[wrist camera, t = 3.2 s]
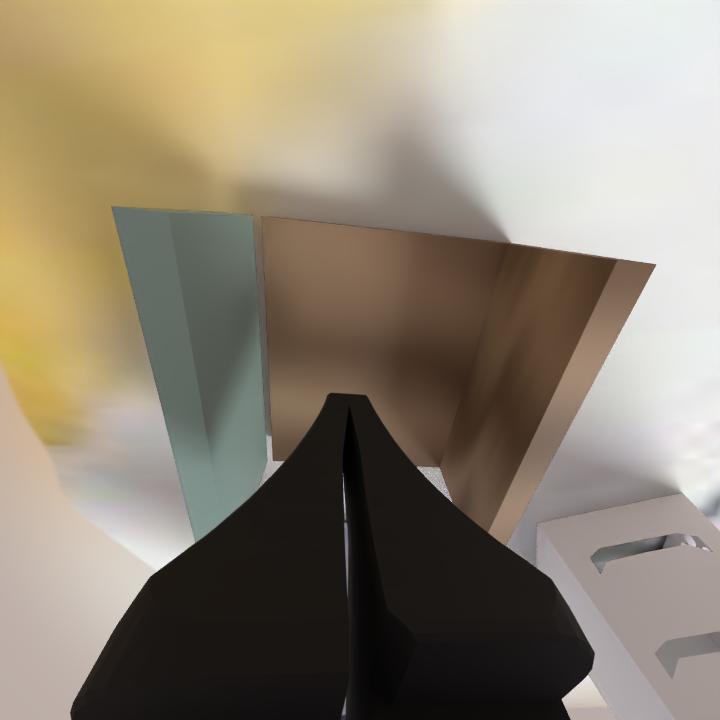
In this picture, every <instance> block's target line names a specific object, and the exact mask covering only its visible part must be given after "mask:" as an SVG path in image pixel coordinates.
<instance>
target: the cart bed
mask: <svg viewBox="0 0 720 720" xmlns="http://www.w3.org/2000/svg"><path fill="white" fill-rule="evenodd" d="M262 236H263V258H264V279H265V301H266V322H267V344H268V365H269V387H270V408H271V430H272V451H273V461H286V459H287V458H288V457H289V456H290V455H291V453H292V452H293V451H294V450H295V448H296V447H297V446H298V444H299V443H300V442H301V440H302V439H303V438H304V436H305V435H306V433H307V432H308V431H309V429H310V428H311V426H312V424H313V423H314V421H315V420H316V418H317V416H318V415H319V413H320V411H321V409H322V407H323V405H324V403H325V400H326V397H327V395H328V394H329V393H345V394H361V395H366V396H367V397H368V398H369V400H370V402H371V404H372V406H373V407H374V409H375V411H376V413H377V414H378V416H379V418H380V419H381V421H382V422H383V424H384V425H385V427H386V428H387V430H388V431H389V433H390V434H391V436H392V437H393V439H394V440H395V441H396V443H397V444H398V445H399V447H400V448H401V449H402V450H403V452H404V453H405V454H406V455H407V457H408V458H409V459H410V460H411V462H412V463H413V464H414V465H415V466H420V467H440V470H441V472H442V475H443V478H444V480H445V483H446V486H447V488H448V491H449V494H450V496H451V499H452V502H453V504H454V505H455V506H456V507H458V508H459V509H460V510H461V511H462V512H463V513H464V514H466V515H467V516H468V517H469V518H470V519H471V520H473V521H474V522H475V523H476V524H478V525H479V526H480V527H481V528H483V529H484V530H485V531H487V532H488V533H489V534H490V535H492V536H493V537H494V538H495V539H497V540H498V541H499V542H501V543H502V544H503V545H505V546H506V545H507V543H508V541H509V539H510V537H511V535H512V533H513V531H514V530H515V528H516V526H517V524H518V522H519V520H520V518H521V516H522V515H523V513H524V511H525V509H526V507H527V505H528V503H529V502H530V500H531V498H532V496H533V494H534V492H535V490H536V488H537V487H538V485H539V483H540V481H541V479H542V477H543V475H544V474H545V472H546V470H547V468H548V466H549V464H550V462H551V460H552V459H553V457H554V455H555V453H556V451H557V449H558V447H559V446H560V444H561V442H562V440H563V438H564V436H565V434H566V432H567V431H568V429H569V427H570V425H571V423H572V421H573V419H574V417H575V416H576V414H577V412H578V410H579V408H580V406H581V404H582V403H583V401H584V399H585V397H586V395H587V393H588V391H589V389H590V388H591V386H592V384H593V382H594V380H595V378H596V376H597V375H598V373H599V371H600V369H601V367H602V365H603V363H604V361H605V360H606V358H607V356H608V354H609V352H610V350H611V348H612V347H613V345H614V343H615V341H616V339H617V337H618V335H619V333H620V332H621V330H622V328H623V326H624V324H625V322H626V320H627V318H628V317H629V315H630V313H631V311H632V309H633V307H634V305H635V304H636V302H637V300H638V298H639V296H640V294H641V292H642V290H643V289H644V287H645V285H646V283H647V281H648V279H649V277H650V276H651V274H652V272H653V270H654V268H655V266H656V264H650V263H643V262H636V261H630V260H623V259H616V258H609V257H602V256H596V255H589V254H582V253H575V252H568V251H562V250H555V249H548V248H541V247H534V246H527V245H521V244H514V243H505V242H496V241H487V240H478V239H469V238H460V237H451V236H442V235H433V234H424V233H415V232H405V231H396V230H387V229H378V228H369V227H360V226H351V225H342V224H333V223H324V222H315V221H305V220H296V219H287V218H278V217H263V216H262Z"/></svg>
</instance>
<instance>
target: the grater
mask: <svg viewBox="0 0 720 720" xmlns="http://www.w3.org/2000/svg"><path fill="white" fill-rule="evenodd" d="M664 535H667V537H666V540H665V543H664V545H663V548H662V549H660V550H655V551H650V552H645V553H640V554H636V555H632V556H627V557H623V558H619V559H614V560H610V561H607V562H606V564H605V567H604V569H603V571H602V573H601V574H600V572H599V571H598V569H597V568H596V566H595V565H594V563H593V562H592V560H591V559H590V558H589V557H591V556H592V555H593V554H594V553H595V552H596V551H597V550H598V549H599V548H603V547H608V546H614V545H619V544H624V543H629V542H634V541H639V540H644V539H649V538H654V537H659V536H664ZM684 535H690V536H691V537H692V538H693V540H694V541H695V543H696V547H694V546H691V545H689V544H688V543H687V541H686V540H685V537H684ZM681 543H685V544H686V545H681ZM702 547H706V548H707V549H709V550H710V551H708V550H704V549H702ZM536 568H537V569H539V570H540V571H541V572H543V573H544V574H546V575H547V576H548V577H550V578H551V579H552V580H553V582H554V583H555V585H556V587H557V588H558V590H559V591H560V593H561V594H562V596H563V598H564V599H565V601H566V602H567V604H568V605H569V607H570V609H571V611H572V613H573V614H574V616H575V618H576V620H577V622H578V623H579V625H580V627H581V629H582V631H583V632H584V634H585V636H586V638H587V640H588V641H589V643H590V645H591V647H592V649H593V650H594V652H595V657H594V663H593V668H592V670H591V671H590V673H589V674H588V675H589V677H590V678H591V680H592V681H593V683H594V685H595V686H596V688H597V689H598V691H599V692H600V694H601V696H602V697H603V699H604V700H605V702H606V703H607V705H608V707H609V708H610V710H611V711H612V713H613V715H614V716H615V718H616V719H617V720H720V531H719V530H718V529H717V528H716V527H715V526H714V525H713V524H712V523H711V522H710V521H709V520H708V519H707V518H706V516H705V515H704V514H703V513H702V512H701V511H700V510H699V509H698V508H697V507H696V506H695V505H694V504H693V503H692V502H691V501H690V500H689V499H688V498H687V497H686V496H685V495H684V494H683V493H680V494H675V495H670V496H665V497H660V498H655V499H651V500H646V501H641V502H636V503H631V504H627V505H622V506H617V507H612V508H607V509H602V510H598V511H593V512H588V513H583V514H578V515H574V516H569V517H564V518H559V519H554V520H550V521H545V522H540V523H537V556H536Z"/></svg>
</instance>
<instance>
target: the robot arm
mask: <svg viewBox="0 0 720 720" xmlns="http://www.w3.org/2000/svg"><path fill="white" fill-rule="evenodd" d="M343 477H344V491H345V504H346V517H347V523H344V499H343ZM594 657H595V652H594V650H593V649H592V647H591V645H590V643H589V641H588V640H587V638H586V636H585V634H584V632H583V631H582V629H581V627H580V625H579V623H578V622H577V620H576V618H575V616H574V614H573V613H572V611H571V609H570V607H569V605H568V604H567V602H566V601H565V599H564V598H563V596H562V594H561V593H560V591H559V590H558V588H557V587H556V585H555V583H554V582H553V580H552V579H551V578H550V577H548V576H547V575H546V574H544V573H543V572H541V571H540V570H539V569H537V568H536V567H534V566H533V565H531V564H530V563H529V562H527V561H526V560H524V559H523V558H522V557H520V556H519V555H517V554H516V553H515V552H513V551H512V550H510V549H509V548H508V547H506V546H505V545H503V544H502V543H501V542H499V541H498V540H497V539H495V538H494V537H493V536H492V535H490V534H489V533H488V532H487V531H485V530H484V529H483V528H481V527H480V526H479V525H478V524H476V523H475V522H474V521H473V520H471V519H470V518H469V517H468V516H467V515H466V514H464V513H463V512H462V511H461V510H460V509H459V508H458V507H456V506H455V505H454V504H453V503H452V502H451V501H450V500H449V499H448V498H447V497H445V496H444V495H443V494H442V493H441V492H440V491H439V490H438V489H437V488H436V487H435V486H434V485H433V484H432V483H431V482H430V481H429V480H428V479H427V478H426V477H425V476H424V475H423V474H422V473H421V472H420V471H419V470H418V468H417V467H416V466H415V465H414V464H413V463H412V462H411V460H410V459H409V458H408V457H407V455H406V454H405V453H404V452H403V450H402V449H401V448H400V447H399V445H398V444H397V443H396V441H395V440H394V439H393V437H392V436H391V434H390V433H389V431H388V430H387V428H386V427H385V425H384V424H383V422H382V421H381V419H380V418H379V416H378V414H377V413H376V411H375V409H374V407H373V406H372V404H371V402H370V400H369V398H368V397H367V396H366V395H361V394H345V393H329V394H328V395H327V397H326V400H325V403H324V405H323V407H322V409H321V411H320V413H319V415H318V416H317V418H316V420H315V421H314V423H313V424H312V426H311V428H310V429H309V431H308V432H307V433H306V435H305V436H304V438H303V439H302V440H301V442H300V443H299V444H298V446H297V447H296V448H295V450H294V451H293V452H292V453H291V455H290V456H289V457H288V458H287V459H286V461H285V462H284V463H283V464H282V465H281V466H280V467H279V468H278V470H277V471H276V472H275V473H274V474H273V475H272V476H271V477H270V478H269V479H268V480H267V481H266V482H265V483H264V484H263V485H262V486H261V487H260V488H259V489H258V490H257V491H256V492H255V493H254V494H253V495H252V496H251V497H250V498H249V499H248V500H246V501H245V502H244V503H243V504H242V505H241V506H240V507H238V508H237V509H236V510H235V511H234V512H233V513H231V514H230V515H229V516H228V517H227V518H226V519H224V520H223V521H222V522H221V523H220V524H219V525H217V526H216V527H215V528H214V529H213V530H211V531H210V532H209V533H208V534H206V535H205V536H204V537H203V538H201V539H200V540H199V541H197V542H196V543H195V544H193V545H192V546H191V547H189V548H188V549H187V550H185V551H184V552H183V553H181V554H180V555H179V556H177V557H176V558H175V559H173V560H172V561H171V562H169V563H168V564H167V565H165V566H164V567H163V568H161V569H160V570H159V571H157V572H156V573H155V574H153V575H152V576H151V577H150V578H149V579H148V581H147V582H146V583H145V585H144V586H143V588H142V589H141V591H140V592H139V593H138V595H137V597H136V598H135V599H134V601H133V602H132V604H131V605H130V607H129V608H128V610H127V611H126V613H125V614H124V616H123V617H122V618H121V620H120V621H119V623H118V624H117V626H116V628H115V629H114V631H113V633H112V634H111V636H110V638H109V640H108V641H107V644H106V645H105V647H104V649H103V650H102V652H101V654H100V656H99V658H98V659H97V661H96V663H95V665H94V666H93V668H92V670H91V672H90V674H89V675H88V677H87V679H86V681H85V683H84V684H83V686H82V688H81V690H80V691H79V693H78V695H77V697H76V698H75V700H74V702H73V705H72V708H71V712H70V714H71V720H570V717H569V715H568V713H567V711H566V709H565V706H564V704H563V702H562V700H561V699H562V698H563V697H564V696H565V695H567V694H568V693H569V692H570V691H571V690H572V689H573V688H574V687H576V686H577V685H578V684H579V683H580V682H581V681H582V680H583V679H584V678H585V677H586V676H587V675H588V674H589V673H590V671H591V670H592V668H593V663H594Z"/></svg>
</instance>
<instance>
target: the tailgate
mask: <svg viewBox="0 0 720 720" xmlns="http://www.w3.org/2000/svg"><path fill="white" fill-rule="evenodd" d="M111 207H112V211H113V215H114V219H115V223H116V227H117V231H118V235H119V239H120V243H121V247H122V251H123V255H124V259H125V263H126V267H127V271H128V275H129V279H130V283H131V287H132V291H133V295H134V299H135V303H136V307H137V311H138V315H139V319H140V323H141V327H142V331H143V335H144V339H145V343H146V347H147V351H148V355H149V359H150V363H151V367H152V371H153V375H154V379H155V383H156V387H157V391H158V395H159V399H160V402H161V406H162V410H163V414H164V418H165V422H166V426H167V430H168V434H169V438H170V442H171V446H172V450H173V454H174V458H175V462H176V466H177V470H178V474H179V478H180V482H181V486H182V490H183V494H184V498H185V502H186V506H187V510H188V514H189V518H190V522H191V526H192V530H193V534H194V538H195V542H197V541H199V540H200V539H201V538H203V537H204V536H205V535H206V534H208V533H209V532H210V531H211V530H213V529H214V528H215V527H216V526H217V525H219V524H220V523H221V522H222V521H223V520H224V519H226V518H227V517H228V516H229V515H230V514H231V513H233V512H234V511H235V510H236V509H237V508H238V507H240V506H241V505H242V504H243V503H244V502H245V501H246V500H248V499H249V498H250V497H251V496H252V495H253V494H254V493H255V492H256V491H257V490H258V488H259V485H260V482H261V479H262V475H263V472H264V469H265V466H266V463H267V446H266V429H265V412H264V395H263V377H262V360H261V343H260V326H259V309H258V291H257V274H256V257H255V240H254V223H253V215H244V214H235V213H225V212H208V211H189V210H170V209H151V208H132V207H113V206H111Z"/></svg>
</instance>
